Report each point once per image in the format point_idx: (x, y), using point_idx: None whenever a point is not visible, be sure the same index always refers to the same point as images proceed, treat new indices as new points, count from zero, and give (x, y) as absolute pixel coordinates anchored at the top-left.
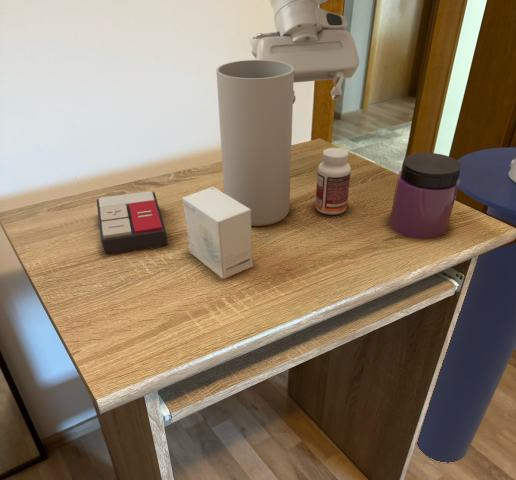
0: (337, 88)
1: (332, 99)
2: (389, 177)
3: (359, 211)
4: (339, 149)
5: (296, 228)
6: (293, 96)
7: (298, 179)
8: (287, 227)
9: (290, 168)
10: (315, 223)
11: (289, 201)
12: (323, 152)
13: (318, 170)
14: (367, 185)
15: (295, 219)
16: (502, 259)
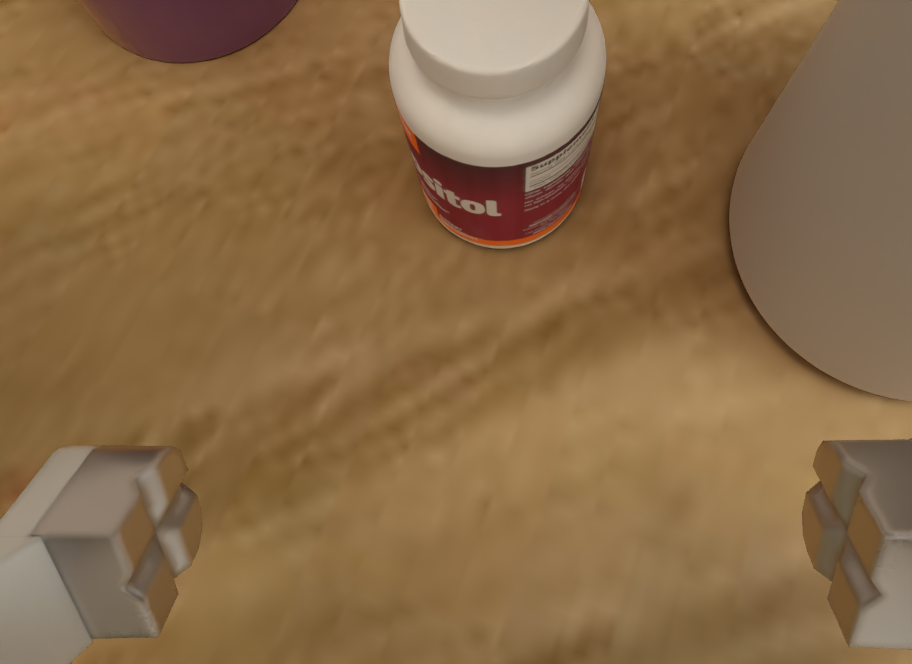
0: (67, 505)
1: (201, 521)
2: (23, 450)
3: (377, 121)
4: (443, 27)
5: (731, 39)
6: (874, 457)
7: (551, 594)
8: (772, 57)
9: (831, 17)
10: (627, 62)
11: (752, 144)
12: (583, 2)
13: (606, 61)
14: (194, 384)
15: (713, 119)
16: None
